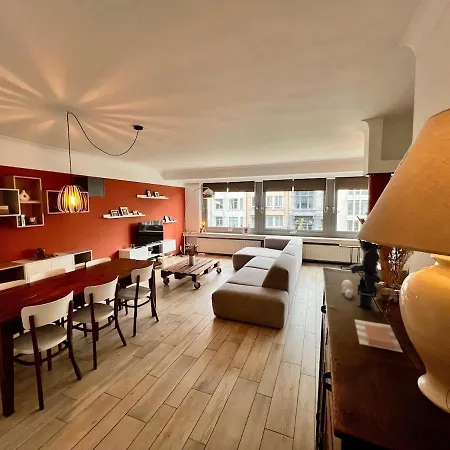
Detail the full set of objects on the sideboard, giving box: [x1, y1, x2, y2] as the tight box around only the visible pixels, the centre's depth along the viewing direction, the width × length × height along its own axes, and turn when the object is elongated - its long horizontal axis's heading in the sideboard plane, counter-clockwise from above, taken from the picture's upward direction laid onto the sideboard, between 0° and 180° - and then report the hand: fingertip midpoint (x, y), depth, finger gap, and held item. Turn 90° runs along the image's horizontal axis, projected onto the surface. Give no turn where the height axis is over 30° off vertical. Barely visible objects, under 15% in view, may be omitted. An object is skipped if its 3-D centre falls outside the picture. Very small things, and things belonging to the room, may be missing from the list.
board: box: [354, 319, 403, 353], centre depth 104 cm, size 22×14×1 cm, turn 157°
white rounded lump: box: [341, 279, 354, 299], centre depth 149 cm, size 6×8×12 cm
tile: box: [365, 325, 393, 350], centre depth 100 cm, size 2×8×12 cm
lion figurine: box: [375, 282, 400, 303], centre depth 144 cm, size 15×5×9 cm, turn 65°
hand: (368, 291), depth 120 cm, fingers closed
